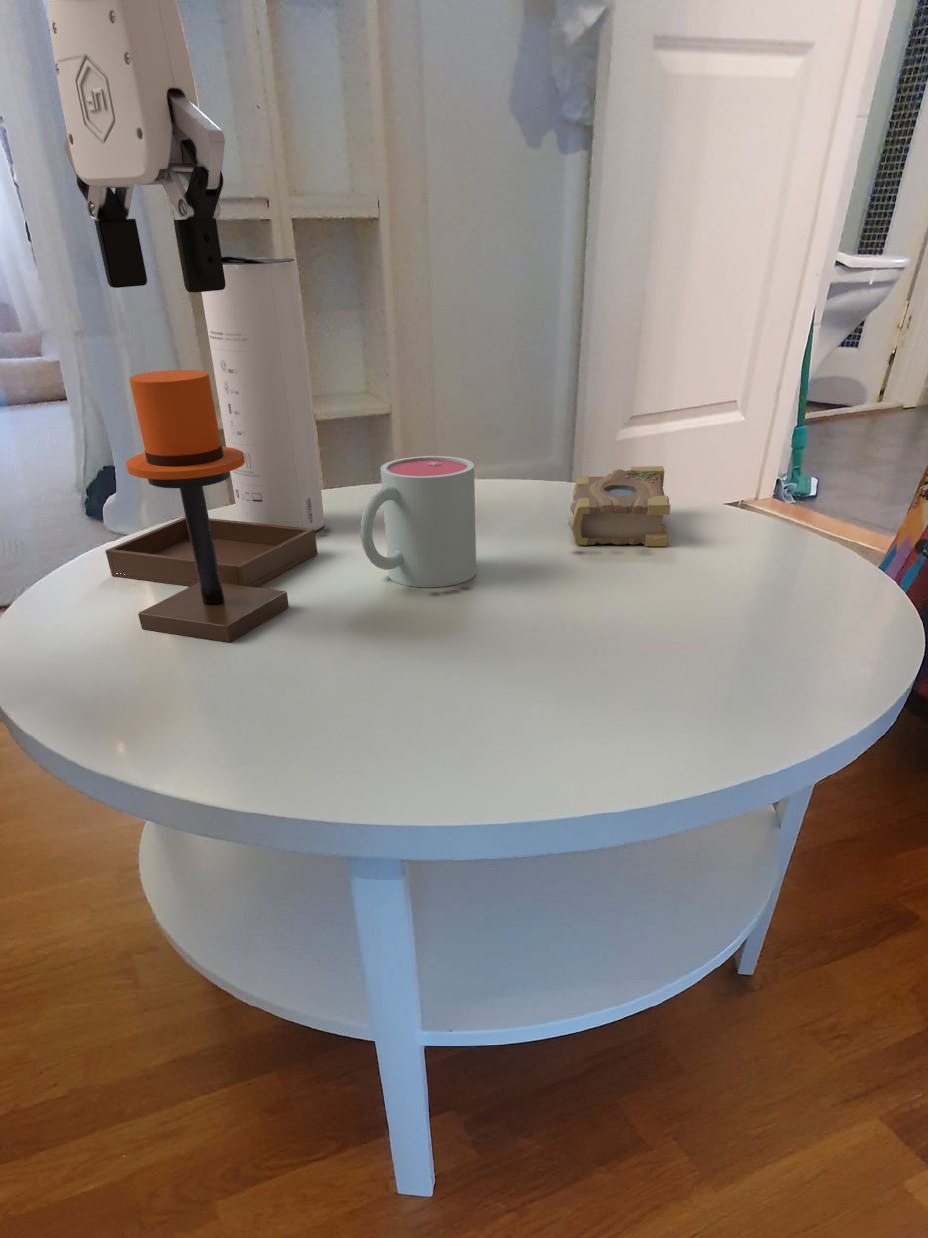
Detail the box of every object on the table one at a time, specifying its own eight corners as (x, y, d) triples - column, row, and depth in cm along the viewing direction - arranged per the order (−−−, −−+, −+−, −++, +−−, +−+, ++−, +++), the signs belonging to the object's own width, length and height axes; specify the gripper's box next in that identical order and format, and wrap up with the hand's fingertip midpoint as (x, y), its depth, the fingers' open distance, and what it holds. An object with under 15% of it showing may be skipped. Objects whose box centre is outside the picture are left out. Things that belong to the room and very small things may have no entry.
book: (667, 547, 103) (672, 497, 100) (567, 547, 104) (569, 498, 101) (658, 511, 114) (663, 466, 111) (568, 512, 115) (569, 467, 112)
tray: (111, 576, 100) (104, 550, 98) (192, 539, 110) (187, 515, 108) (245, 593, 95) (240, 566, 93) (317, 553, 104) (314, 528, 103)
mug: (432, 554, 103) (428, 452, 97) (494, 571, 98) (493, 464, 92) (337, 585, 96) (325, 477, 89) (398, 605, 91) (390, 492, 84)
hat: (102, 474, 79) (79, 383, 75) (175, 450, 86) (158, 365, 82) (199, 483, 76) (181, 388, 72) (267, 457, 83) (254, 368, 78)
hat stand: (141, 629, 88) (102, 474, 79) (205, 595, 94) (175, 450, 86) (230, 642, 84) (199, 483, 76) (289, 607, 91) (267, 457, 83)
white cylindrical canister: (344, 526, 113) (316, 252, 96) (273, 545, 107) (230, 258, 90) (291, 511, 119) (256, 250, 102) (222, 528, 113) (172, 256, 96)
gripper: (-21, -39, 61) (59, 288, 72) (131, -84, 52) (195, 297, 63) (81, -26, 65) (142, 281, 76) (238, -65, 56) (280, 289, 67)
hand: (166, 288), depth 70 cm, fingers open, 9 cm apart
